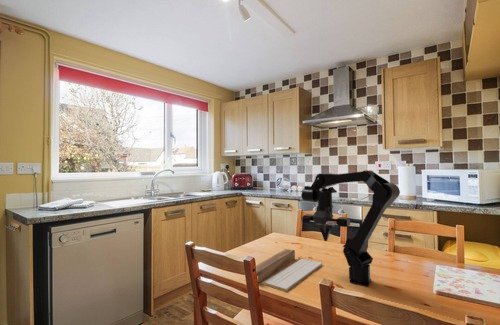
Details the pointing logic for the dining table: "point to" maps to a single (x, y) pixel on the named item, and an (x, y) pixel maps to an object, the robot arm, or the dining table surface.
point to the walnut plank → (274, 263)
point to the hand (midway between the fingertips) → (325, 240)
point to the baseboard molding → (292, 274)
